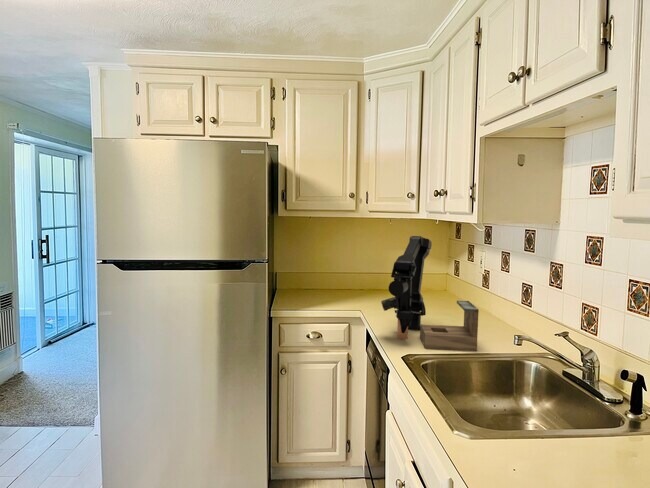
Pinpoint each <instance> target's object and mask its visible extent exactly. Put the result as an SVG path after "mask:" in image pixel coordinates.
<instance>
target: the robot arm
mask: <svg viewBox="0 0 650 488" xmlns="http://www.w3.org/2000/svg"><path fill="white" fill-rule="evenodd" d="M431 249H432V240H430V239H429V238H425V237H423V236H420V235H410V237H409V242H408V244H407V246H406V248H405V250H404V253H403V254H401V255H399V256H398V257H397V259H396V260H395V261H394V263H393V268H392V270H391V271H392V272H391V276H390V278H392V279H393V281H391V282H390V283H389V284H388V291H389V293H390V294H391V295H392V296H393V297H389V298H386V299H383V300H381V302H380V303H381V306H382V309H383V312H385V311H388V310H391V309H394V313H395V317H396V318H397V320H398V319H399V320H400V325H401V332H402V333H405V331H406V329H407V327H408V331H409V330H410V331H411V330H412V331H413V330H414V331H420V324H421V323H422V321H421V320H422V317H424V316H426V315H427V314H426V313H427V312H426V311H427V310H426V305H425V301H424V297H423V295H422V293H421V289H422V283H423V282H422V281H423V275H424V273H423V272H424V267H425V259H427V257H428V256H429V255H430V250H431Z"/></svg>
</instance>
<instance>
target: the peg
mask: <svg viewBox="0 0 650 488" xmlns="http://www.w3.org/2000/svg"><path fill="white" fill-rule="evenodd" d="M396 328H397V331H396V333H397V334H396V336H397V337H396V338H397V339H398V340H407V339H408V335H409V332H408V331H409V330H408V327H407V329H406V331H405V333H402V332H401V325H400V320H399V319H398V318H397V327H396Z"/></svg>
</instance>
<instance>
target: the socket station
mask: <svg viewBox="0 0 650 488" xmlns="http://www.w3.org/2000/svg"><path fill="white" fill-rule="evenodd" d="M456 304H457V305H458V306H459V307H460V308H461V309H462V310H463V325H442V324H423V323H422V324H420V330H419V338H420V340H421V342H422V345H423V347H424V349H425V350H426V349H427V350H443V351H446V350H448V351H450V350H451V351H466V352H467V351H468V352H477V351H478V333H479V332H478V331H479V329H478V328H479V308H478V307H477V306H475V304H473V303H472V302H471V301H469V300H456Z"/></svg>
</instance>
